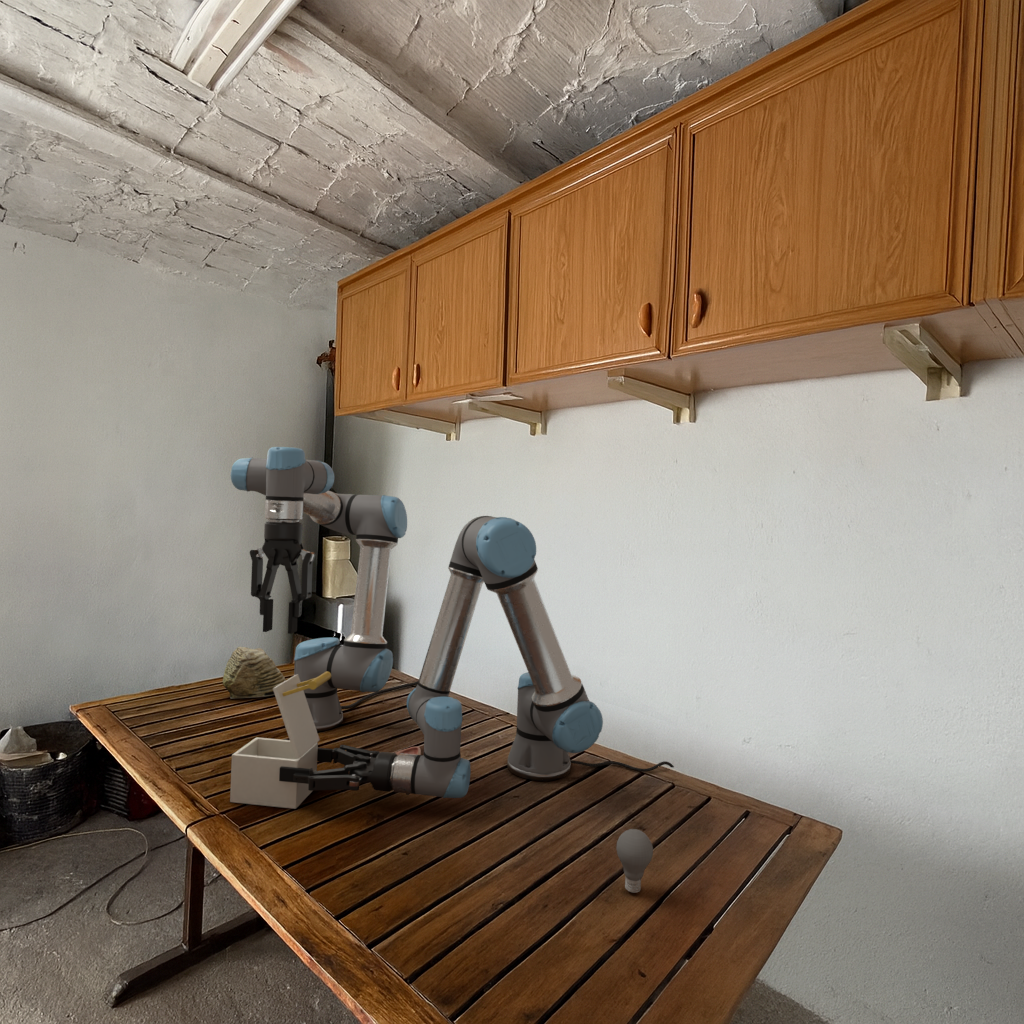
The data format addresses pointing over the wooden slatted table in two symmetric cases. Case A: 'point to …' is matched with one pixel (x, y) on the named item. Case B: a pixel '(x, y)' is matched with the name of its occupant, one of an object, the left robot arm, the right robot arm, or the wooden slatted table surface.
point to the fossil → (251, 674)
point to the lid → (298, 711)
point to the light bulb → (634, 857)
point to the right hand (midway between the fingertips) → (292, 762)
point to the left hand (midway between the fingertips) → (280, 631)
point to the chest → (269, 773)
